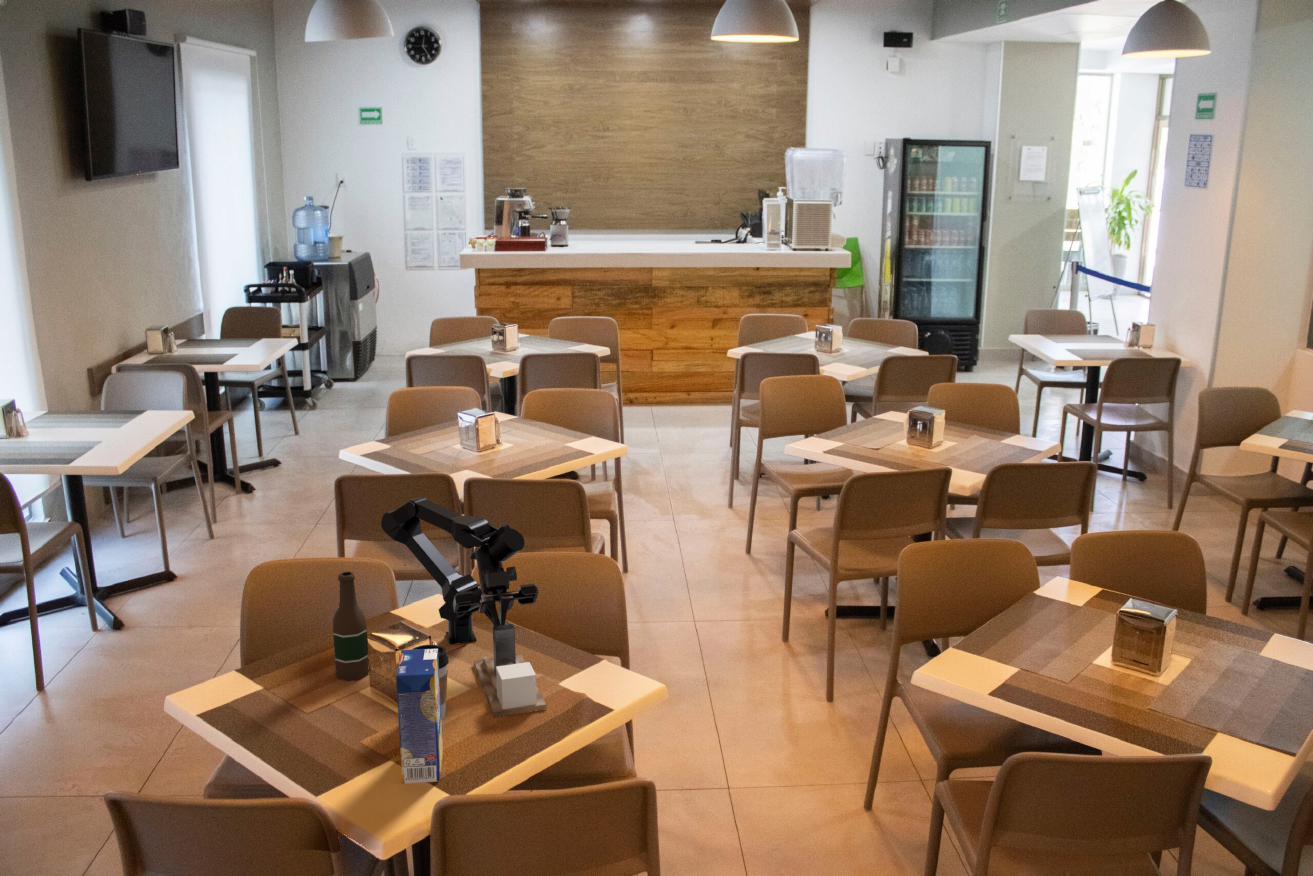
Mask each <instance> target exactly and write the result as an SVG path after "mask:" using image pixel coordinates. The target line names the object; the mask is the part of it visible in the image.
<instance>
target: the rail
mask: <svg viewBox="0 0 1313 876" xmlns="http://www.w3.org/2000/svg"><path fill="white" fill-rule="evenodd" d="M525 662H526V661H525V659H524V657H523V655H522V654H516V664H518V663H525ZM473 666H474V669H475V672H476V675H477V676H478V680H479V682H480V684H481V687H482V690H483V693H484V696H485V697H486V699H487V702H488V705H489V707H490V710H491V712H493V713H492V716H493V717H494V718H500V717H499V716H502V717H504V716H503V715H508V716H512V715H511V714H515V715H518V714H517V713H521V714H525V713H524V712H527V713H531V712H530V711H534V712H536V711H535V710H540V711H545V710H544V709H546V710H547V704H546V701H545V699H544V697H543V695H542V693H541V691H540V688H539V687H538V685H537V684H536V702H537V704H535V705H528V706H522V707H515V708H509V709H502V706H501V704H500V702H499V699H498V697H497V680H496V675H495V672H494V657H492V658H489V657H488V656H486V655H485V656H483V657H482V659H479V660H478V659H477V660H473Z"/></svg>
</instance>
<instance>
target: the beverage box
mask: <svg viewBox="0 0 1313 876" xmlns="http://www.w3.org/2000/svg"><path fill="white" fill-rule="evenodd" d="M412 649H413V648H412ZM412 649H401V651H400V655H399V660H398V661H399V662H398V665H397V671H396V675H395V682H396V699H397V700H396V701H397V712H398V713H397V714H398V716H397V717H398V718H397V719H398V732H399V733H398V734H399V735H398V736H399V750H400V751H399V752H400V767H401V769H400V770H401V784H402V785H404V784H406V785H407V784H419V783H422V784H423V783H434V782H436V783H437V782H440V780H441V774H442V773H441V772H442V771H441V770H442V762H443V753H444V749H443V728H442V726H443V725H442V720H441V702H440V681H439V659H438V648H433V649H413V650H412Z"/></svg>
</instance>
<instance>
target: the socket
mask: <svg viewBox="0 0 1313 876" xmlns="http://www.w3.org/2000/svg"><path fill="white" fill-rule="evenodd" d="M496 680H497V697H498V699H499V702H500V704H501V706H502V709H509V708H515V707H522V706H528V705H535V704H537V702H536V685H537V675H536V672H535V670H534V668H533V666H532V664H531V663H530V661H525V663H518V664H511V665H504V666H497V667H496Z"/></svg>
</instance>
